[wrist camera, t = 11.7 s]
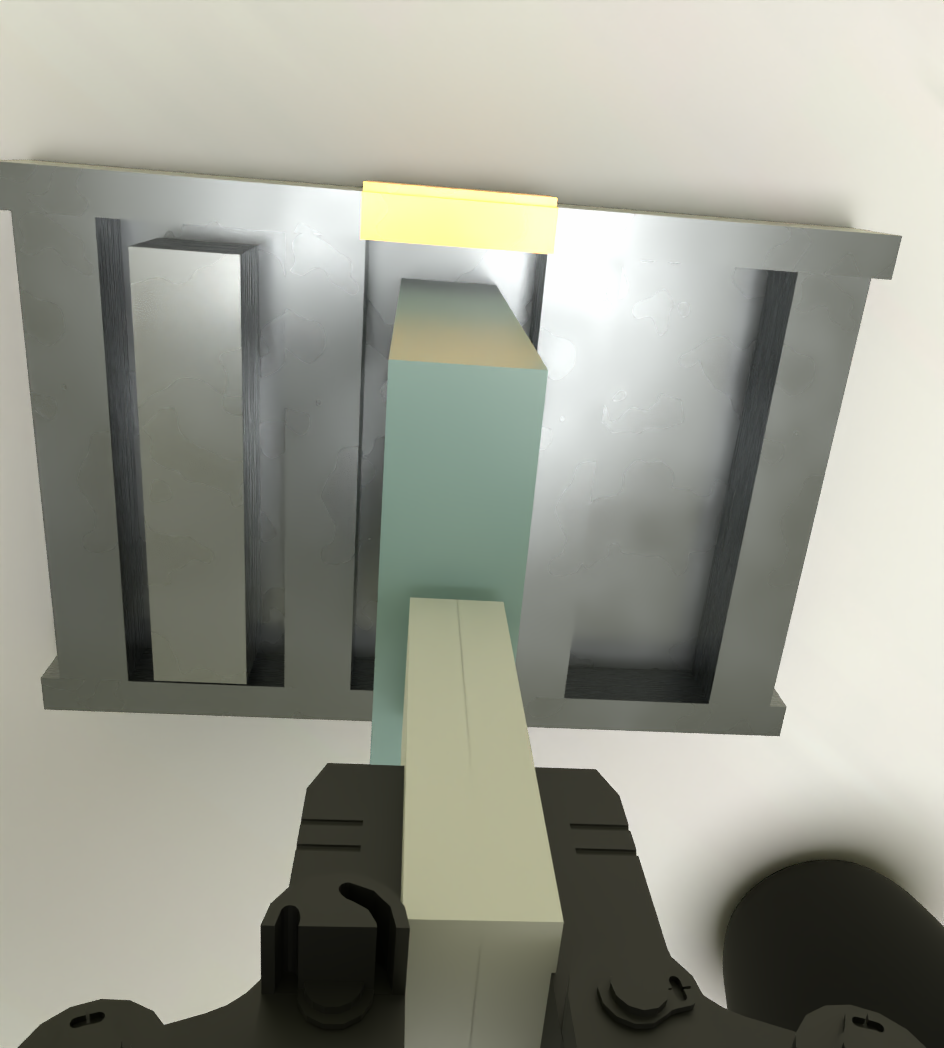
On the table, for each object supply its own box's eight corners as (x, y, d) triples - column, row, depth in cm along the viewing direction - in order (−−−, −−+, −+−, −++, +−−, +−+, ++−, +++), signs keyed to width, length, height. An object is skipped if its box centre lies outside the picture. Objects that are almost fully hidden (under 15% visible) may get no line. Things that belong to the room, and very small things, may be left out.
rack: (76, 657, 27) (30, 723, 24) (29, 151, 22) (-39, 149, 19) (750, 684, 29) (791, 750, 26) (855, 220, 24) (923, 229, 20)
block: (384, 628, 26) (364, 883, 17) (402, 277, 23) (388, 359, 13) (466, 632, 26) (490, 886, 17) (496, 285, 23) (548, 370, 14)
